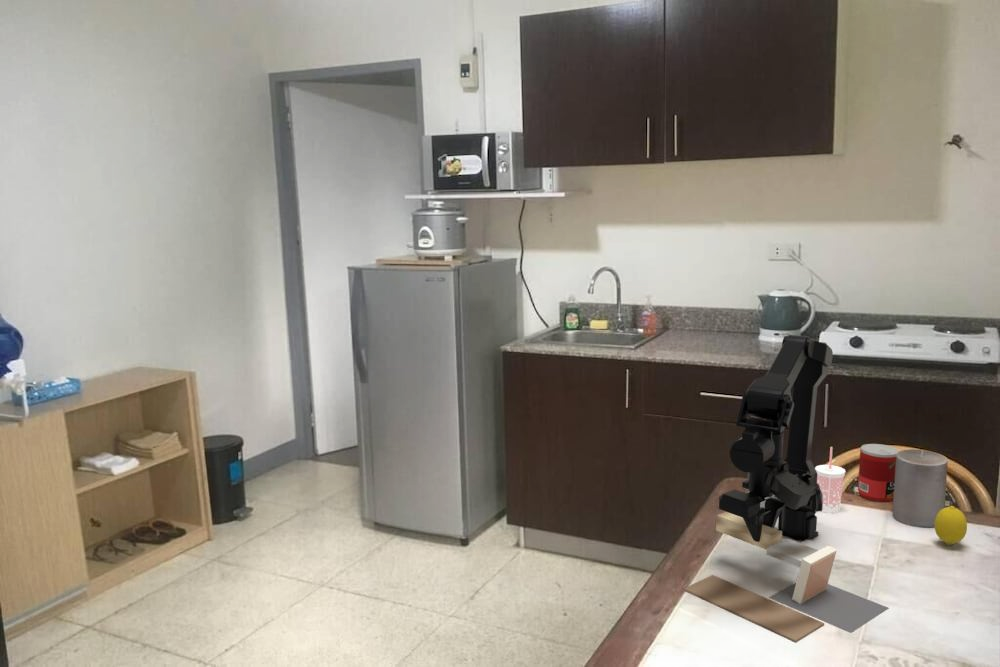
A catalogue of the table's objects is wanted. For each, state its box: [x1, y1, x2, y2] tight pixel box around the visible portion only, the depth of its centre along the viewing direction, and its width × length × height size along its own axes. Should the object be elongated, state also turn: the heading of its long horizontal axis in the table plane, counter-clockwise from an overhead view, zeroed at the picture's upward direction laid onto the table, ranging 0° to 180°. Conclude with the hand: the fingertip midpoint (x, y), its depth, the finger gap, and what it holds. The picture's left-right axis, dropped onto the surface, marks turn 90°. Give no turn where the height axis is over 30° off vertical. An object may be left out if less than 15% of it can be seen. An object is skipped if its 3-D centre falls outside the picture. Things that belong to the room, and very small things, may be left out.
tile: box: [792, 545, 838, 604], centre depth 144 cm, size 2×8×8 cm, turn 128°
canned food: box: [857, 443, 899, 503], centre depth 189 cm, size 8×8×11 cm
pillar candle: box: [892, 448, 949, 528], centre depth 176 cm, size 10×10×15 cm
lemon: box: [934, 505, 968, 546], centre depth 164 cm, size 6×6×8 cm
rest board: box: [683, 574, 825, 643], centre depth 142 cm, size 22×8×1 cm, turn 38°
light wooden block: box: [715, 511, 820, 568], centre depth 151 cm, size 19×6×3 cm, turn 38°
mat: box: [768, 582, 890, 634], centre depth 143 cm, size 15×12×1 cm
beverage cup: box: [814, 446, 846, 514], centre depth 182 cm, size 6×6×14 cm
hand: (762, 538), depth 151 cm, fingers closed on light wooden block, 3 cm apart
